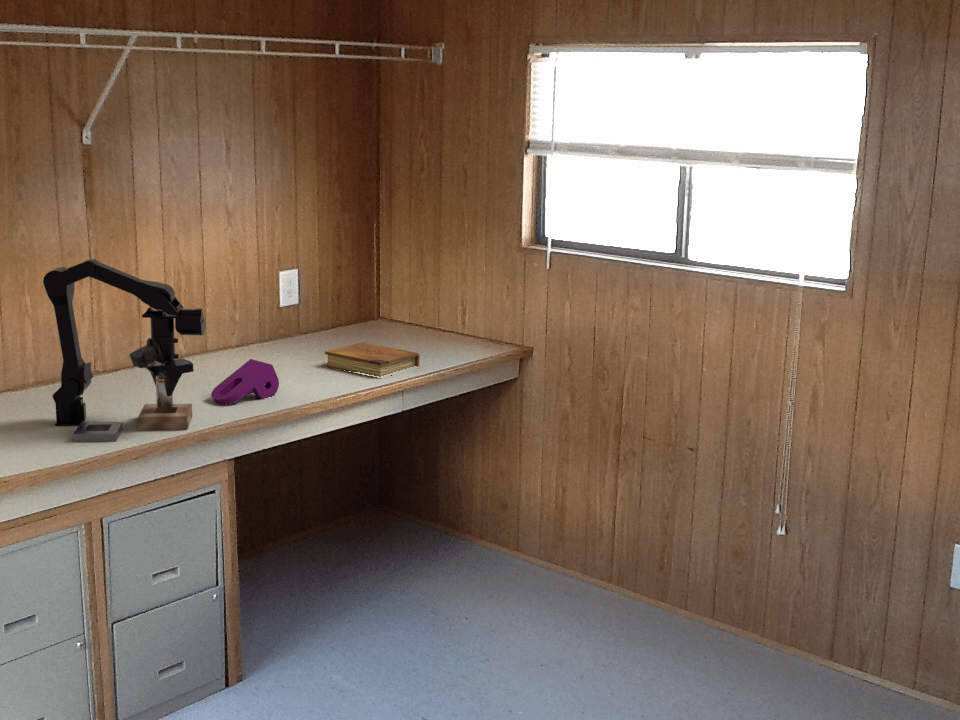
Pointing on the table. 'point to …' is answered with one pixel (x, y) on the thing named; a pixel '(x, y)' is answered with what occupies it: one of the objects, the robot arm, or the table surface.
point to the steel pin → (162, 393)
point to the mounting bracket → (247, 383)
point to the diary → (371, 359)
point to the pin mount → (97, 431)
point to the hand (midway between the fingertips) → (164, 394)
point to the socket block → (165, 417)
